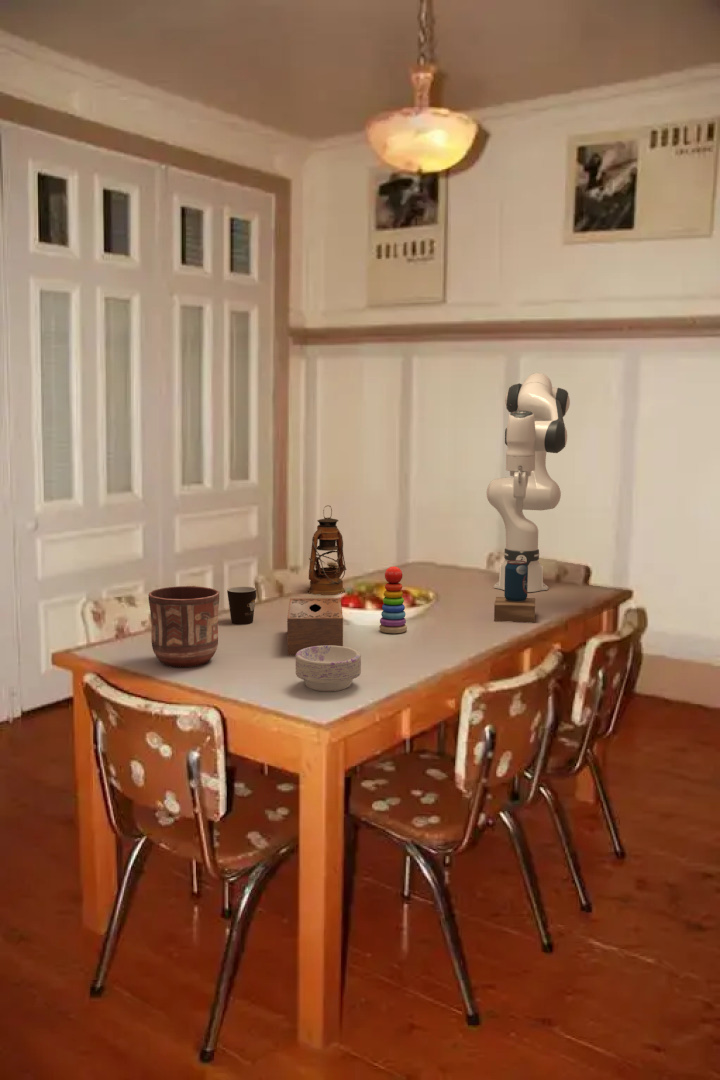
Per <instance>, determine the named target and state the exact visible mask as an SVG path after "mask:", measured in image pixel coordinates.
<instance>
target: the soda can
mask: <svg viewBox="0 0 720 1080" xmlns="http://www.w3.org/2000/svg"><path fill="white" fill-rule="evenodd" d="M527 588H528V567H527V564H526V562H525V561H521V560H510V561H507V564H506V566H505V590H503V591H504V592H503V593H504V595H503V597H505V598H506V600H507V601H510V602H524V601H525V600H526V598H528V592H527Z"/></svg>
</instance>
